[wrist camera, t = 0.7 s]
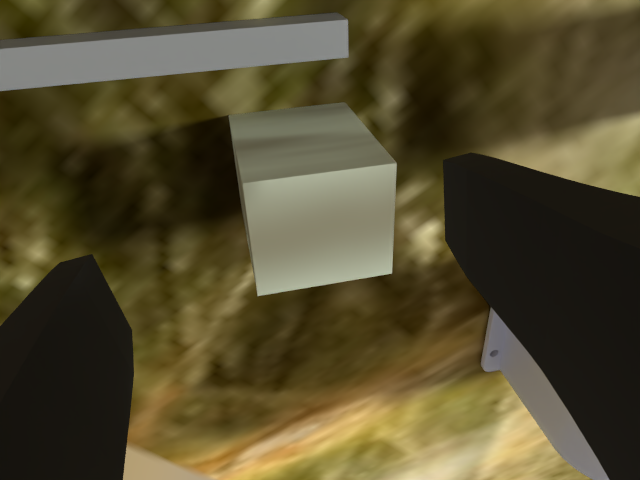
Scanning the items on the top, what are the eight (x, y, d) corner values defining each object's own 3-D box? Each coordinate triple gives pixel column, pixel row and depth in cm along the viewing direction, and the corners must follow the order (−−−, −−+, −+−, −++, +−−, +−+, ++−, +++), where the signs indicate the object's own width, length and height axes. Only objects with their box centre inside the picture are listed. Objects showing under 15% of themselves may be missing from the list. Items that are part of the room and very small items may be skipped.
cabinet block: (346, 193, 22) (392, 273, 17) (241, 208, 21) (257, 295, 16) (344, 102, 20) (396, 162, 15) (228, 114, 19) (242, 183, 14)
